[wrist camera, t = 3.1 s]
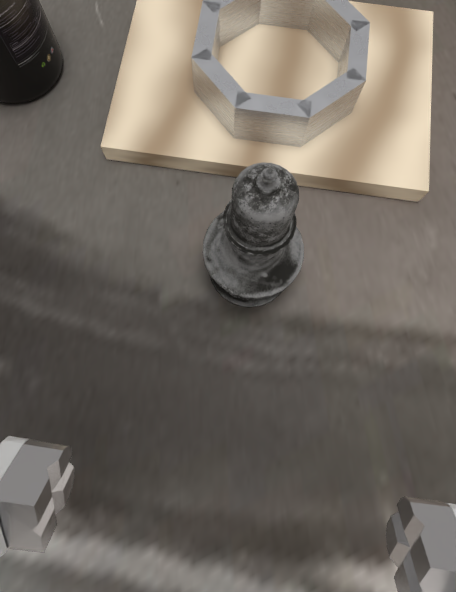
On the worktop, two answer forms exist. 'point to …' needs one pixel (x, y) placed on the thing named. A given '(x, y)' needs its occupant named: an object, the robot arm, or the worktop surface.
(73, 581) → the worktop surface
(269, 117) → the metal collar
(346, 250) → the worktop surface
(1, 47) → the supplement bottle
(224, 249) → the dark grey turned piece
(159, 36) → the carrier plate
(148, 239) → the worktop surface
